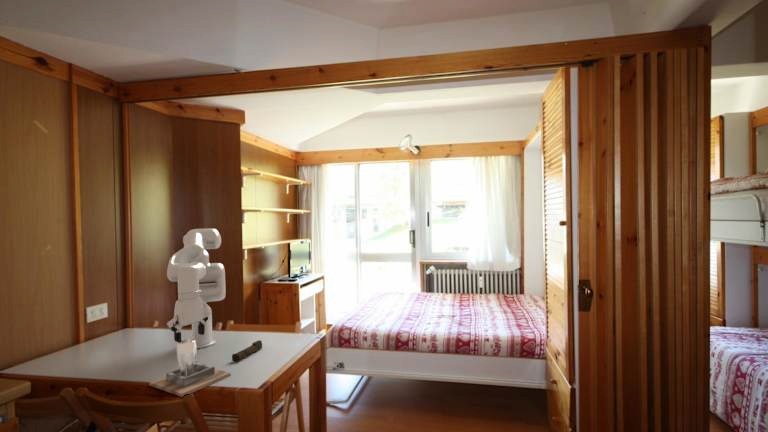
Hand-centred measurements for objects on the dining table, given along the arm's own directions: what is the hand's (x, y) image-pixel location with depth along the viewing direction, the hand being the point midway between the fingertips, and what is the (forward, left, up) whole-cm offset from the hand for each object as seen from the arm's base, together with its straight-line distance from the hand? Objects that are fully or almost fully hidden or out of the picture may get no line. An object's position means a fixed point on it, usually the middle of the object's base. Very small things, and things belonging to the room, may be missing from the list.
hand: (190, 337), depth 144 cm
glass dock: (0, 0, -17) cm, 17 cm away
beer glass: (0, -2, -16) cm, 16 cm away
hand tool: (-2, +30, -17) cm, 34 cm away
